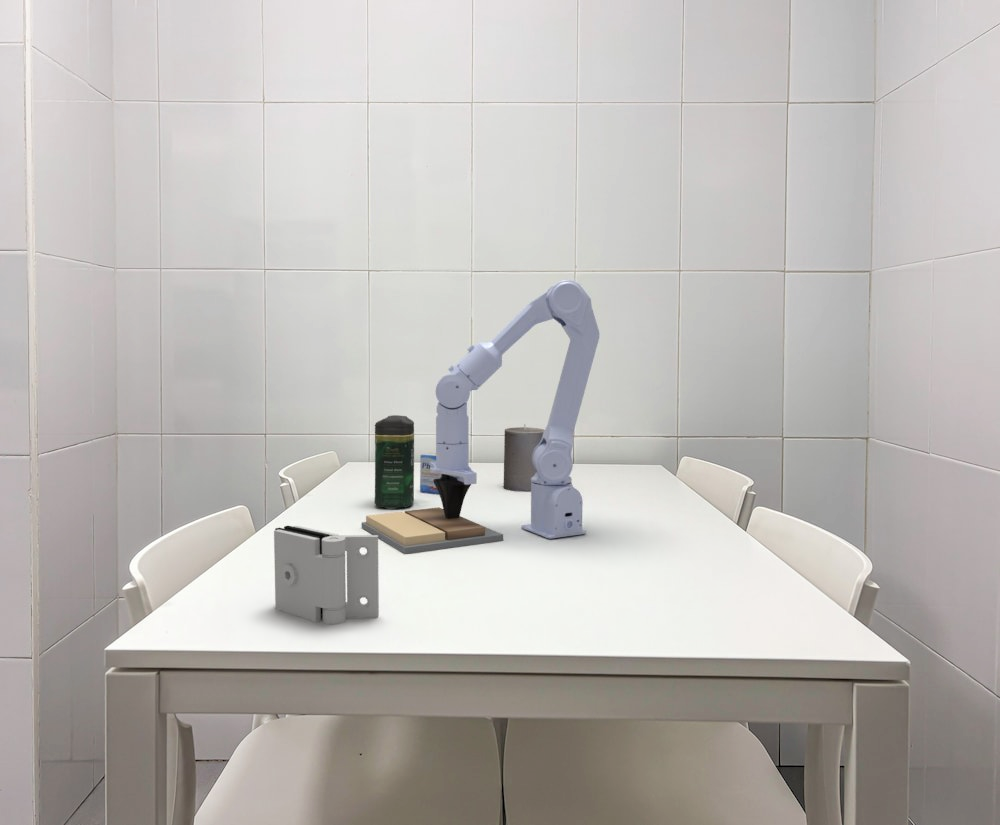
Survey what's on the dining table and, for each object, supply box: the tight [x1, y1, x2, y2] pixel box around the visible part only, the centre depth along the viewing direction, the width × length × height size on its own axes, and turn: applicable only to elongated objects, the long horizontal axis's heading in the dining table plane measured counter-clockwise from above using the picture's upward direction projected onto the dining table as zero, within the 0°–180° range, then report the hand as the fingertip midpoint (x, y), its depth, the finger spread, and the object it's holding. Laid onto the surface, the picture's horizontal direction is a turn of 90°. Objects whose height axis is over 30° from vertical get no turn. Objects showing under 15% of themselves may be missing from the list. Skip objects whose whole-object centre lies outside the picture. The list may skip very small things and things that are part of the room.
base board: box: [361, 511, 504, 555], centre depth 135 cm, size 20×18×2 cm
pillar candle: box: [503, 423, 546, 492], centre depth 179 cm, size 10×10×15 cm
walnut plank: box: [404, 507, 486, 540], centre depth 136 cm, size 18×7×1 cm, turn 30°
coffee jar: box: [374, 414, 415, 510], centre depth 158 cm, size 10×8×19 cm
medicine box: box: [419, 452, 442, 495], centre depth 173 cm, size 8×4×9 cm, turn 62°
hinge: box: [273, 525, 380, 625], centre depth 94 cm, size 14×5×10 cm, turn 67°
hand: (452, 518), depth 137 cm, fingers closed, pressing on walnut plank
